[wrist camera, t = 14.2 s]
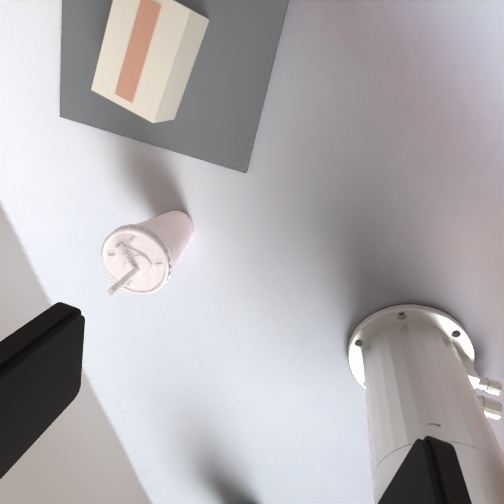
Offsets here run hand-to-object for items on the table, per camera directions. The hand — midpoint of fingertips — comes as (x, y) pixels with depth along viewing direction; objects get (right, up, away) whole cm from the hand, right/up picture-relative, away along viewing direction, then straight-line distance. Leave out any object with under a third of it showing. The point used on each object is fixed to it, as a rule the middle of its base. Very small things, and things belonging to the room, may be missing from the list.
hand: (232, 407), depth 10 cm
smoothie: (-8, +7, +31) cm, 33 cm away
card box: (-8, +22, +24) cm, 33 cm away
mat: (-7, +22, +24) cm, 34 cm away
